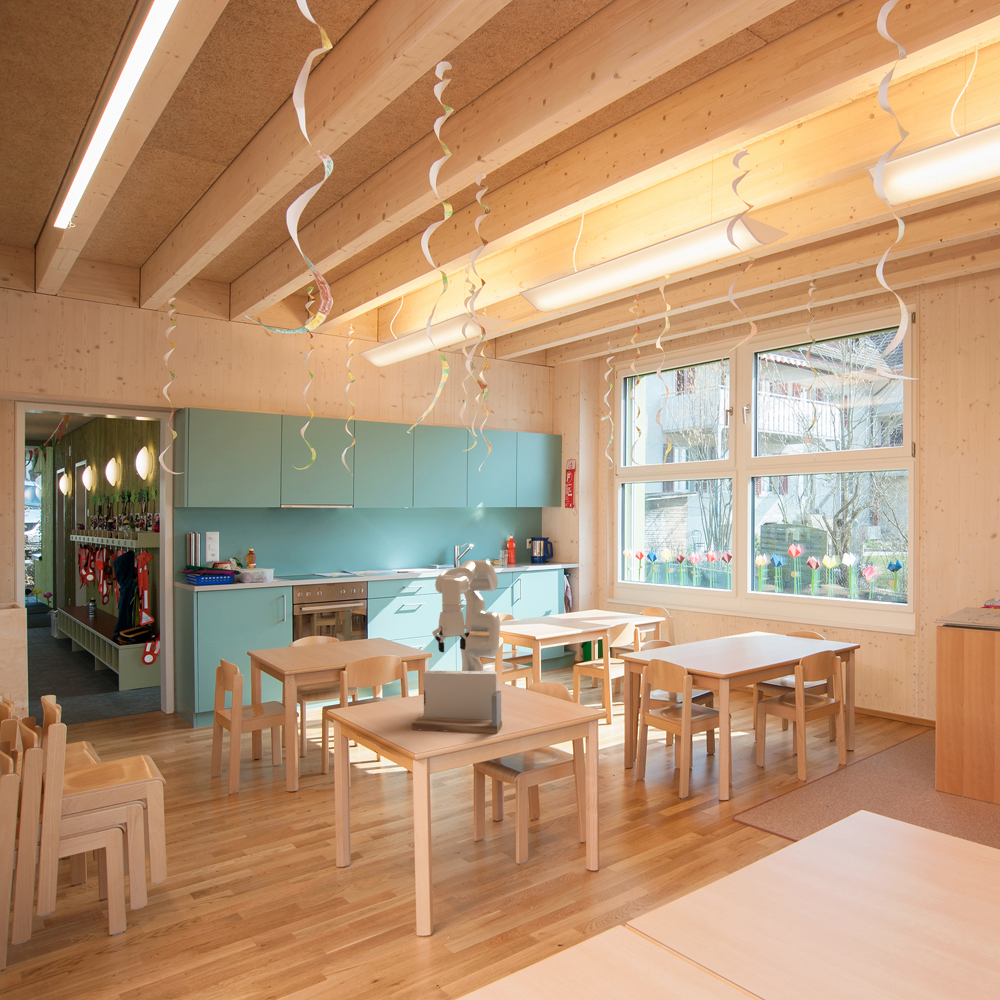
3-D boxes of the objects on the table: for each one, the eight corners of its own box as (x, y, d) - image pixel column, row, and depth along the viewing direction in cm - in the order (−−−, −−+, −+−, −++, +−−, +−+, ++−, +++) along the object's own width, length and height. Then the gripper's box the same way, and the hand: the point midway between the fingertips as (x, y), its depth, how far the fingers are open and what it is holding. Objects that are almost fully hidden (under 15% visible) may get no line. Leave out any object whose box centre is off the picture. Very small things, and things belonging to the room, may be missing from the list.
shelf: (419, 723, 318) (419, 716, 318) (502, 726, 311) (502, 720, 311) (411, 729, 308) (411, 723, 308) (497, 733, 301) (497, 726, 301)
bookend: (496, 720, 311) (496, 690, 311) (501, 720, 310) (501, 690, 311) (491, 726, 302) (491, 695, 302) (496, 726, 302) (496, 695, 302)
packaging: (497, 719, 323) (497, 671, 323) (496, 722, 317) (495, 674, 317) (426, 718, 326) (426, 670, 326) (423, 721, 320) (423, 673, 320)
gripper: (465, 605, 319) (466, 646, 319) (428, 609, 310) (428, 651, 310) (474, 607, 313) (475, 649, 313) (436, 611, 304) (437, 654, 304)
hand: (452, 650), depth 312 cm, fingers open, 9 cm apart
